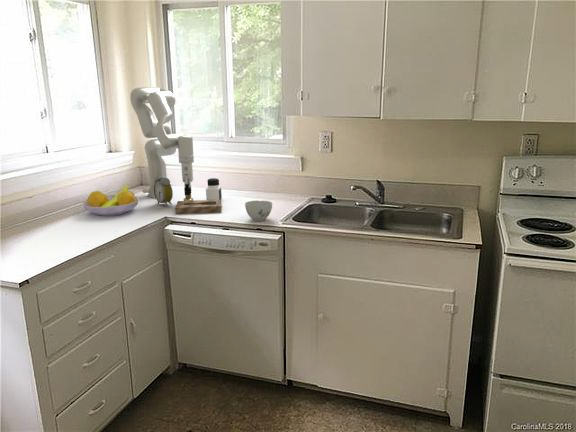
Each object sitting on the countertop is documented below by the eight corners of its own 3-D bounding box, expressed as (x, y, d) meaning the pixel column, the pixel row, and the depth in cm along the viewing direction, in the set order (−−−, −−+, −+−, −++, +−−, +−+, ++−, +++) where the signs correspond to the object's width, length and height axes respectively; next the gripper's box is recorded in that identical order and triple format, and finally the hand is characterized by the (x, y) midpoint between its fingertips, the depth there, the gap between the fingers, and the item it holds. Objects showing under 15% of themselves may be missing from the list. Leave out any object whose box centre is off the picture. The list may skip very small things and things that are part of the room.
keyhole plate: (175, 214, 232) (175, 207, 231) (178, 207, 245) (177, 201, 244) (221, 212, 234) (221, 206, 234) (221, 205, 248) (221, 199, 247)
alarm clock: (154, 204, 252) (152, 176, 248) (166, 202, 256) (164, 174, 252) (164, 208, 244) (162, 179, 240) (176, 205, 248) (174, 177, 244)
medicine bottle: (219, 202, 255) (218, 179, 252) (206, 202, 255) (205, 180, 252) (221, 199, 262) (220, 177, 259) (208, 199, 262) (207, 177, 259)
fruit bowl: (107, 222, 219) (104, 198, 216) (71, 214, 233) (68, 191, 230) (154, 209, 242) (152, 187, 239) (119, 202, 256) (117, 181, 253)
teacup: (276, 221, 218) (276, 204, 215) (250, 224, 213) (249, 207, 211) (265, 213, 231) (265, 197, 229) (240, 216, 227) (240, 200, 224)
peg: (183, 203, 251) (182, 180, 248) (184, 200, 256) (182, 178, 252) (193, 202, 251) (191, 180, 248) (193, 200, 256) (192, 178, 253)
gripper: (192, 162, 240) (194, 197, 245) (194, 156, 256) (196, 190, 261) (177, 162, 239) (179, 198, 244) (180, 157, 255) (182, 190, 260)
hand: (188, 193), depth 252 cm, fingers closed on peg, 3 cm apart
